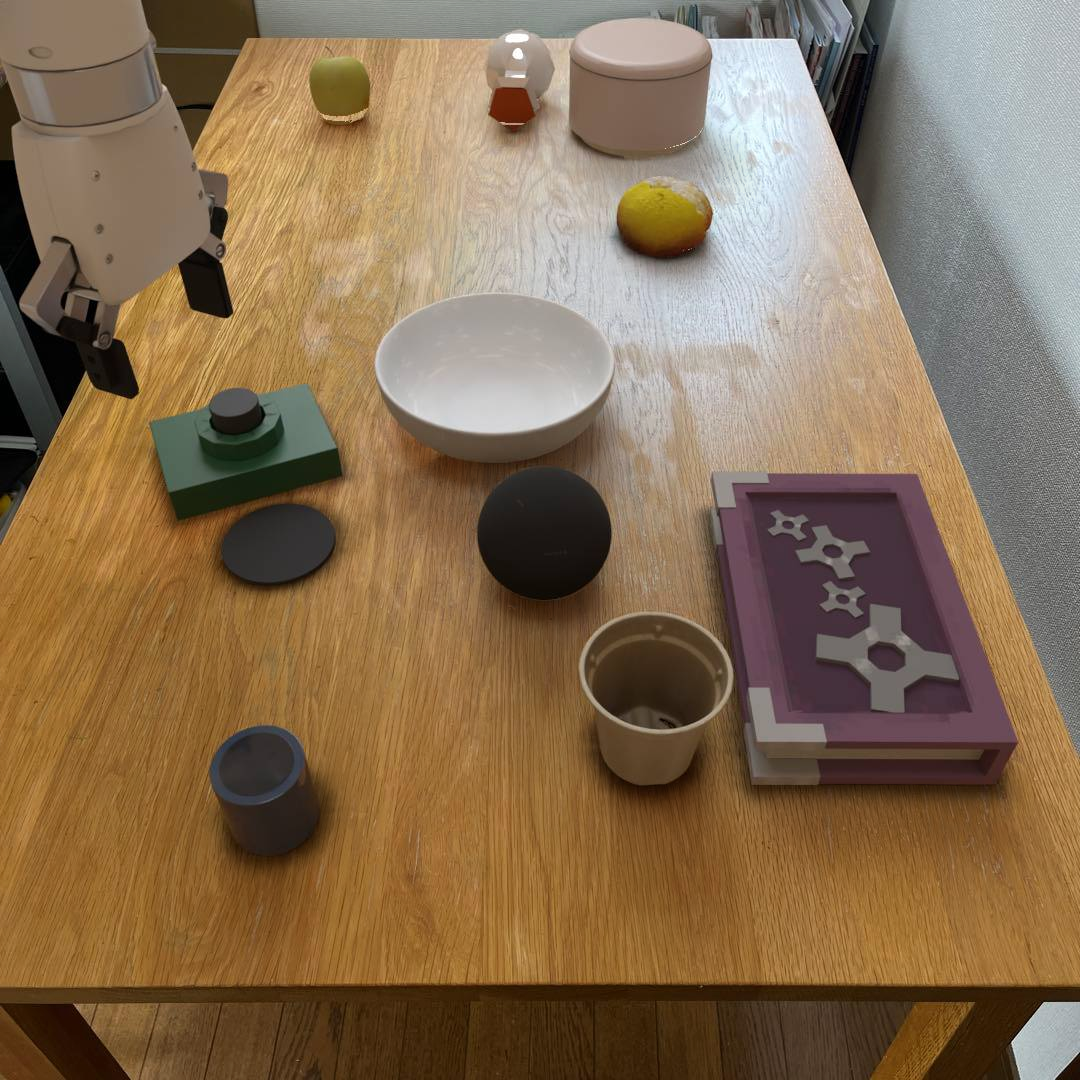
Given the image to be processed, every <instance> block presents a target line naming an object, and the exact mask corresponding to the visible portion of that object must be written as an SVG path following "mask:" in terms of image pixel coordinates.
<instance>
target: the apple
mask: <svg viewBox="0 0 1080 1080" xmlns="http://www.w3.org/2000/svg"><path fill="white" fill-rule="evenodd" d="M324 47H325V49H327V50H328V51H329V53H330V54H331V55H332V56H322V57H320V58H318V59H317V60H316V61H314V63H313V64H312V66H311V69H310V72H309V79H308V82H309V84H308V85H309V91H310V94H311V95H310V96H311V98H312V101H313V104H314V106H315V108H316V110H317V112H318V111H319V112H320V113H322V114H324V115H329V116H336V117H337V116H348V115H351V114H355V113H358V112H360V111H363V110H364V109H366V108H368V109H369V107H370V99H371V80H370V76H369V73H368V71H367V69H366V67H365V66H364V64H363V63H362V62H361V61H360V60H359V59H357V58H355V57H352V56H347V55H346V56H345V55H344V56H334V53H333V52H332V51H331V49H330V48H329V47H328V46H327V45H325V46H324ZM368 106H369V107H368ZM319 112H318V113H319ZM322 119H323V120H324V121H325V122H327V123H329V124H330V125H332V126H333V125H335V126H346V125H350V124H351V123H350V122H351V121H352V120H350V122H349V121H346V122H345V121H332V120H326V119H324V118H322ZM349 123H350V124H349Z"/></svg>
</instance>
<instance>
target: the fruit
mask: <svg viewBox="0 0 1080 1080" xmlns="http://www.w3.org/2000/svg"><path fill="white" fill-rule="evenodd" d="M616 209H617V210H616V226H617V230H618V233H619V234H620V236H621V237H622V240H623V242H624V243H625V244H626V245H627V247H628V248H629V249H630V250H632V251H633V252H635V253H637V254H639V255H643V256H648V257H654V258H659V259H660V258H663V259H667V258H676V257H680V256H682V255H686V254H688V253H689V254H690V253H691V252H692V251H693V250H695V248H696V247H697V246H699V245H700V244H701V242H703V241H704V240H705V238H706V237H707V234H706V233H707V231H709V229H710V228H711V225H712V221H713V218H714V217H713V216H714V210H713V207H712V204H711V202H710V199H709V198H708V196H707V195H706V193H705V192H703V190H701V189H700V188H699V187H698V185H697V184H695V183H693V182H690V181H689V182H688V181H686V180H679V179H677V178H675V177H671V176H669V175H667V176H661V175H656V176H651V177H647V178H645V179H643V180H641V181H640V183H636V184H635V185H633V186H631V187H630V188H629V189H628V190H626V191H625V192H624V193H623V194H622V197H621V198H620V200H619V202H618V205H617V208H616ZM695 246H696V247H695ZM691 248H692V249H691ZM688 249H690V250H688ZM683 250H684V251H683Z"/></svg>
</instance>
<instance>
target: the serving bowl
mask: <svg viewBox="0 0 1080 1080" xmlns="http://www.w3.org/2000/svg"><path fill="white" fill-rule="evenodd" d="M373 369H374V376H375V381H376V383H377V386H378V389H379V392H380V395H381V397H382V400H383V402H384V404H385V406H386V408H387V409H388V411H389V413H390V414H391V416H392V418H393V419H394V420H395V421H396V422H397V424H398V425H399V426H400V427H401V428H402V429H403V430H404V431H405V432H407V434H409V435H410V436H412V438H414V439H415V440H417V441H418V442H419V443H421V444H422V445H424V446H426V447H427V448H430V449H432V450H434V451H436V452H438V453H441V454H443V455H446V456H449V457H452V458H455V459H460V460H462V461H463V460H464V461H469V462H476V463H486V464H503V463H513V462H514V463H515V462H520V461H526V460H530V459H534V458H538V457H541V456H543V455H546V454H549V453H551V452H554V451H556V450H558V449H560V448H562V447H563V446H565V445H567V444H568V443H570V442H571V441H573V440H574V439H576V438H577V437H579V436H580V435H581V434H582V433H583V432H584V431H586V430H587V429H588V428H589V426H590V425H591V424H592V423H593V422H594V421H595V420H596V418H597V417H598V415H599V414H600V412H601V411H602V409H603V407H604V406H605V403H606V401H607V399H608V396H609V394H610V391H611V387H612V384H613V381H614V377H615V373H616V357H615V351H614V349H613V346H612V344H611V342H610V340H609V338H608V337H607V335H606V334H605V333H604V332H603V330H602V329H601V328H600V327H599V326H598V325H597V324H596V323H595V322H593V320H591V319H590V318H589V317H587V316H586V315H584V314H582V313H580V312H579V311H577V310H575V309H574V308H572V307H569V306H567V305H564V304H563V303H560V302H557V301H555V300H554V301H553V300H552V299H547V298H544V297H540V296H535V295H529V294H523V293H516V292H515V293H513V292H479V293H478V292H477V293H470V294H463V295H457V296H454V297H447V298H445V299H442V300H437V301H435V302H432V303H429V304H427V305H425V306H422V307H421V308H418V309H417V310H414V311H413V312H411V313H409V314H408V315H406V316H404V317H403V318H401V319H400V320H399V321H398V322H396V323H395V324H394V325H393V326H392V327H391V328H390V329H389V330H388V331H387V332H386V334H384V337H383V338H382V339H381V341H380V342H379V345H378V347H377V348H376V352H375V355H374V368H373Z"/></svg>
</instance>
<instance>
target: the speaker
mask: <svg viewBox="0 0 1080 1080" xmlns="http://www.w3.org/2000/svg"><path fill="white" fill-rule="evenodd" d="M611 521H612V520H611V515H610V513H609V510H608V508H607V505H606V503H605V501H604V499H603V498H602V496H601V495H600V493H599V491H598V490H597V489H596V488H595V487H594V486H593V485H592V484H591V482H589V481H588V480H587V479H585V478H584V477H582V476H581V475H579V474H578V473H576V472H574V471H572V470H568V469H566V468H563V467H558V466H553V465H536V466H529V467H526V468H523V469H520V470H518V471H515V472H513V473H511V474H510V475H508V476H507V477H505V478H503V479H501V481H500V482H498V484H496V485H495V487H494V488H493V489H492V490H491V491H490V492H489V494H488V495H487V497H486V498H485V501H484V502H483V504H482V506H481V509H480V512H479V515H478V519H477V525H476V526H477V528H476V541H477V547H478V551H479V553H480V554H479V555H480V558H481V559H482V562H483V564H484V566H485V568H486V569H487V571H488V572H489V574H490V575H491V576H492V577H493V579H494V580H495V581H496V582H497V583H498V584H500V585H501V586H502V587H503V588H504V589H506V590H507V591H509V592H511V593H512V594H514V595H517V596H519V597H521V598H524V599H529V600H533V601H542V602H543V601H544V602H545V601H555V600H560V599H565V598H568V597H570V596H572V595H575V594H576V593H578V592H580V591H581V590H583V589H585V587H587V586H588V585H589V584H590V583H591V582H593V581H594V580H595V578H596V577H597V576H598V575H599V574H600V572H601V570H602V569H603V568H604V565H605V564H606V561H607V559H608V556H609V554H610V549H611V545H612V535H613V534H612V533H613V530H612V522H611Z"/></svg>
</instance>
